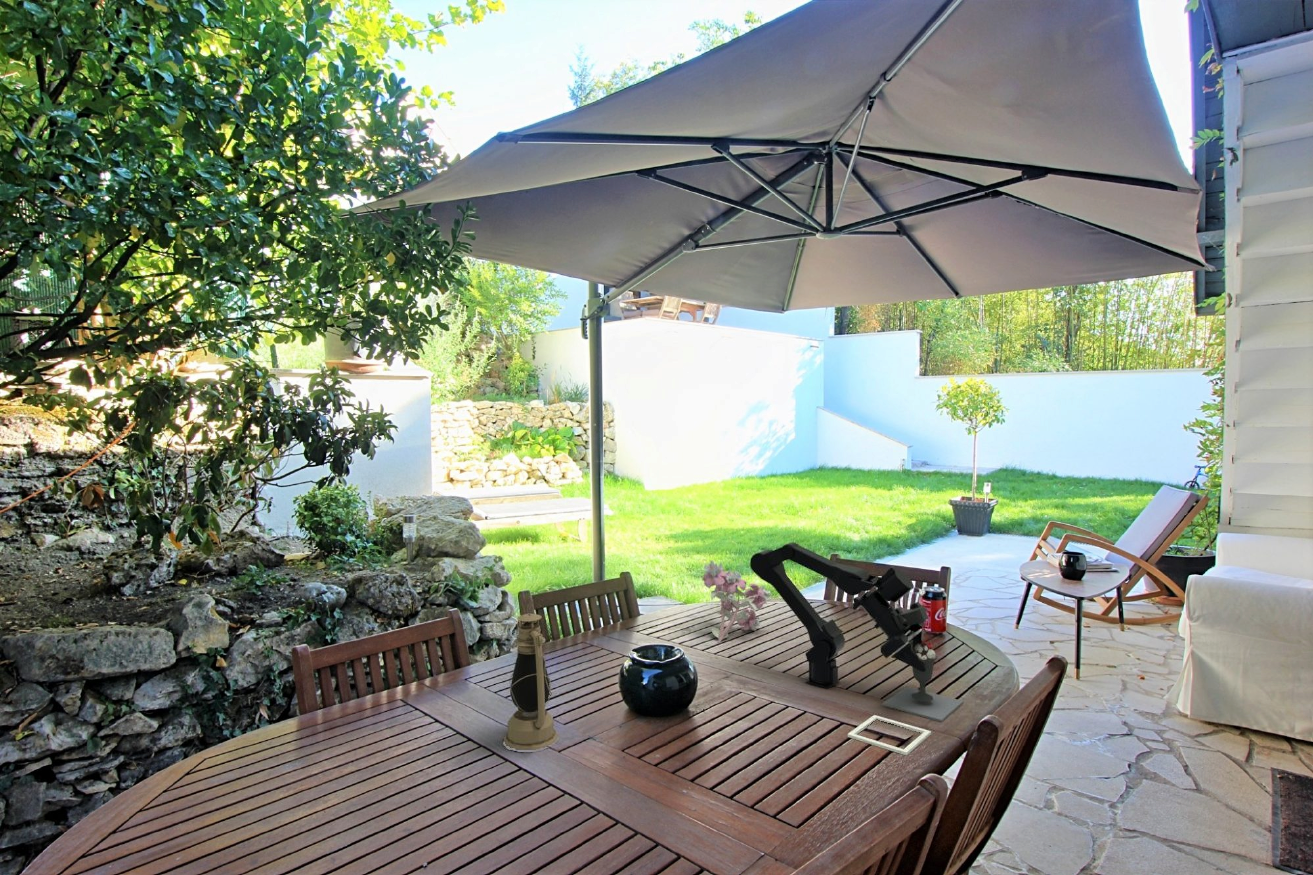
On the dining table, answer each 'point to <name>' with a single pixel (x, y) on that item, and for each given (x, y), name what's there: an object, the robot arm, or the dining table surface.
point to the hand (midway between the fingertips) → (928, 666)
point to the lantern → (530, 690)
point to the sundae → (923, 677)
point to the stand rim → (902, 751)
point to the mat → (923, 704)
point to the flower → (727, 586)
